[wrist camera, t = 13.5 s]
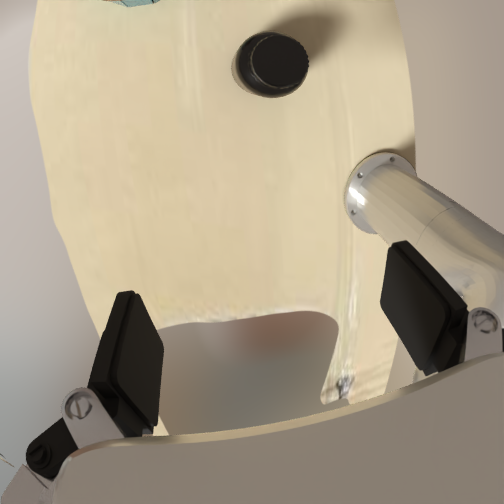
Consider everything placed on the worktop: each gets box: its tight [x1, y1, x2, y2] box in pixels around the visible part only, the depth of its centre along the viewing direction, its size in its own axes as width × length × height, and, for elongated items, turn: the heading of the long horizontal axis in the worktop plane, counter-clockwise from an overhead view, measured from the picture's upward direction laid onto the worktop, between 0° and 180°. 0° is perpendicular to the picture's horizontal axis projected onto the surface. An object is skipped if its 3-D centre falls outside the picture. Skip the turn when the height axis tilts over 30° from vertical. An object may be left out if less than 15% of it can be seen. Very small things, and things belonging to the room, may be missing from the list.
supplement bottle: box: [231, 31, 309, 98], centre depth 25 cm, size 7×7×12 cm
